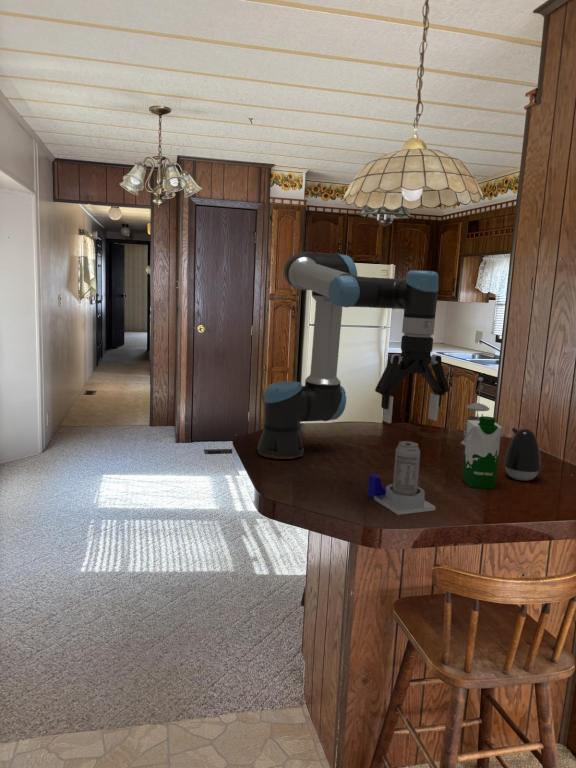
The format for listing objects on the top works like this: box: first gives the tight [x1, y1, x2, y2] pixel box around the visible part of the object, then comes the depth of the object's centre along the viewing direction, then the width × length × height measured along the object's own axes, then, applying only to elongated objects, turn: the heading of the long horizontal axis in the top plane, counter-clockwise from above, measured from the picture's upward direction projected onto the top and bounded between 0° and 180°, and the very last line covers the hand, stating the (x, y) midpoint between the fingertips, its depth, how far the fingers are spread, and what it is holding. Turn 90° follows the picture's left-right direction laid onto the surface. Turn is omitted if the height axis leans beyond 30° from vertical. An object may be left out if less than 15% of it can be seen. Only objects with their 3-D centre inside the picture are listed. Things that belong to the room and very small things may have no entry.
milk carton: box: [462, 415, 503, 490], centre depth 164 cm, size 9×9×20 cm
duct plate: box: [373, 483, 436, 516], centre depth 146 cm, size 11×11×4 cm
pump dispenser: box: [503, 427, 542, 482], centre depth 172 cm, size 10×10×15 cm
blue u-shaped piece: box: [367, 473, 393, 500], centre depth 153 cm, size 12×4×6 cm, turn 114°
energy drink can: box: [392, 440, 421, 495], centre depth 145 cm, size 6×6×15 cm
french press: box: [460, 377, 490, 446], centre depth 209 cm, size 10×12×25 cm
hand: (410, 420), depth 143 cm, fingers open, 13 cm apart
